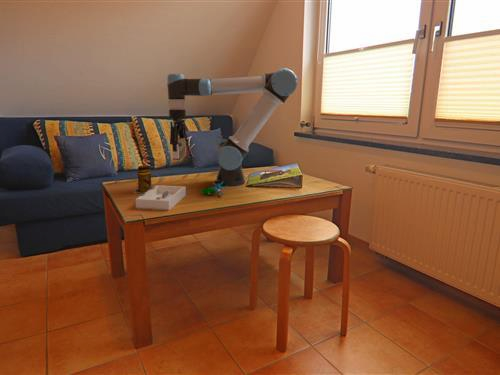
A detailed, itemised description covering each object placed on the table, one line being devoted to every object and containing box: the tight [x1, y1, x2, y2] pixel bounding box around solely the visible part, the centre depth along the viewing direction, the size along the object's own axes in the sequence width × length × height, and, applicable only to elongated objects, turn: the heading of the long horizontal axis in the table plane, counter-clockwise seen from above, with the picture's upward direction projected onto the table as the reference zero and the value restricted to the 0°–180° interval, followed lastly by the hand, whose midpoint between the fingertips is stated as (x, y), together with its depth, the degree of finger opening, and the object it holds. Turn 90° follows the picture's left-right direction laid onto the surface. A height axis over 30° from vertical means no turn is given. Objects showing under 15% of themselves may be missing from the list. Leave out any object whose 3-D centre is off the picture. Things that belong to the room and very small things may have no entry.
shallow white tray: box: [135, 185, 187, 211], centre depth 150 cm, size 14×22×4 cm, turn 173°
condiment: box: [133, 165, 152, 194], centre depth 164 cm, size 7×8×12 cm
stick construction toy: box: [200, 182, 228, 198], centre depth 159 cm, size 12×7×8 cm
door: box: [172, 137, 187, 161], centre depth 165 cm, size 4×10×9 cm, turn 173°
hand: (179, 156), depth 166 cm, fingers closed on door, 10 cm apart
